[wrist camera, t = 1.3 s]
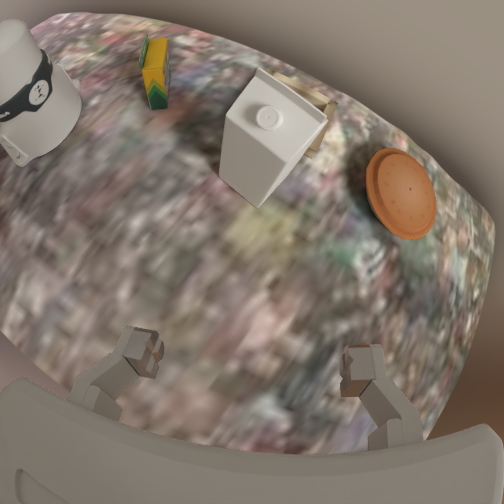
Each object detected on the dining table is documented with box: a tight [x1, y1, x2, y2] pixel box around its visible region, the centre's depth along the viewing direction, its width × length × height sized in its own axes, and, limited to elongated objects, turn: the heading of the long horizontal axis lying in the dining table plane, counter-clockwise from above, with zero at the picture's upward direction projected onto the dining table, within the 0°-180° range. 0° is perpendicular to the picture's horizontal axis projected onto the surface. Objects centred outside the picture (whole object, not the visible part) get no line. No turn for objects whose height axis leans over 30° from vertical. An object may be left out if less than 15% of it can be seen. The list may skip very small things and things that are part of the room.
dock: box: [266, 69, 338, 159], centre depth 38 cm, size 13×12×2 cm
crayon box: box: [139, 31, 170, 110], centre depth 31 cm, size 7×3×12 cm, turn 5°
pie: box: [366, 148, 436, 240], centre depth 39 cm, size 15×16×5 cm
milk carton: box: [219, 67, 329, 208], centre depth 28 cm, size 7×7×19 cm
